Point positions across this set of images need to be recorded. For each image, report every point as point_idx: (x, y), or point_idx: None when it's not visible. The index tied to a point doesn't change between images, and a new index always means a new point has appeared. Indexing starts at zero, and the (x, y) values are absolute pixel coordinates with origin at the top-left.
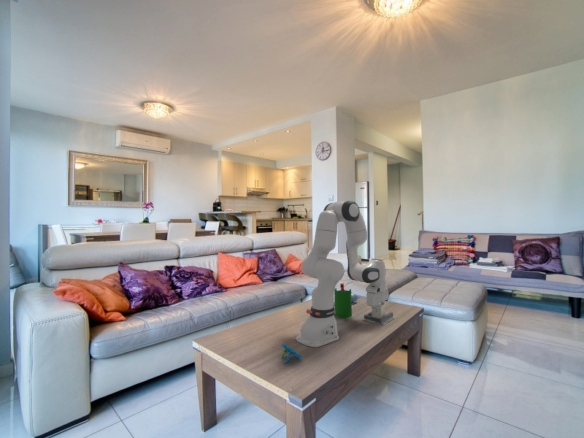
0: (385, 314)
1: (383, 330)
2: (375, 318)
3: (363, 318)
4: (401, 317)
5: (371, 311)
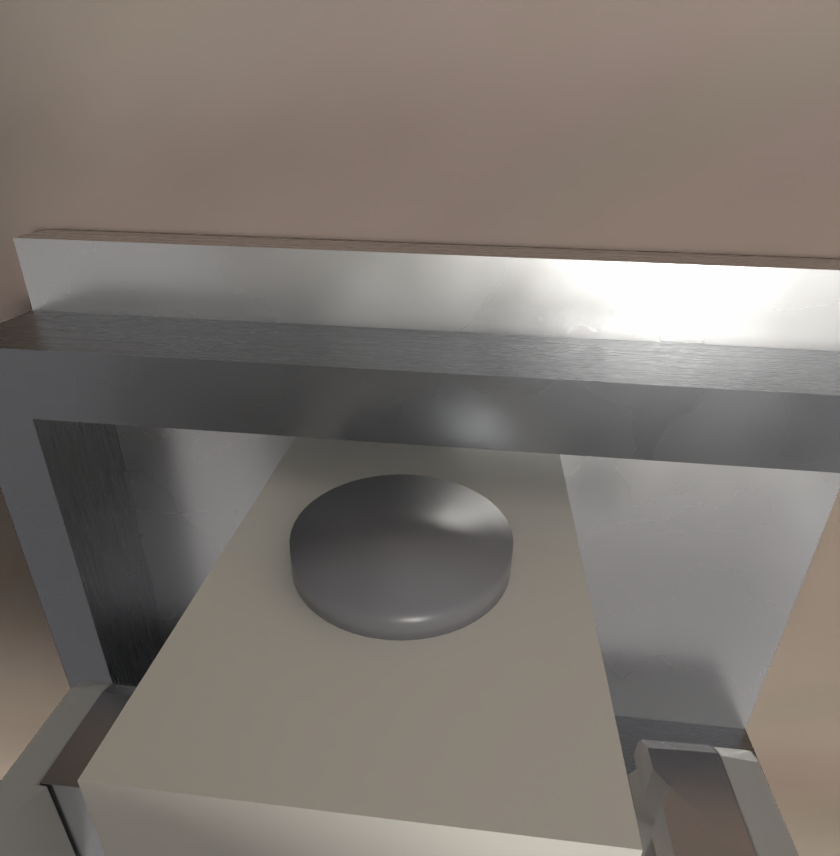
0: (756, 623)
1: (2, 743)
2: (69, 660)
3: (30, 284)
4: (814, 821)
5: (500, 378)
